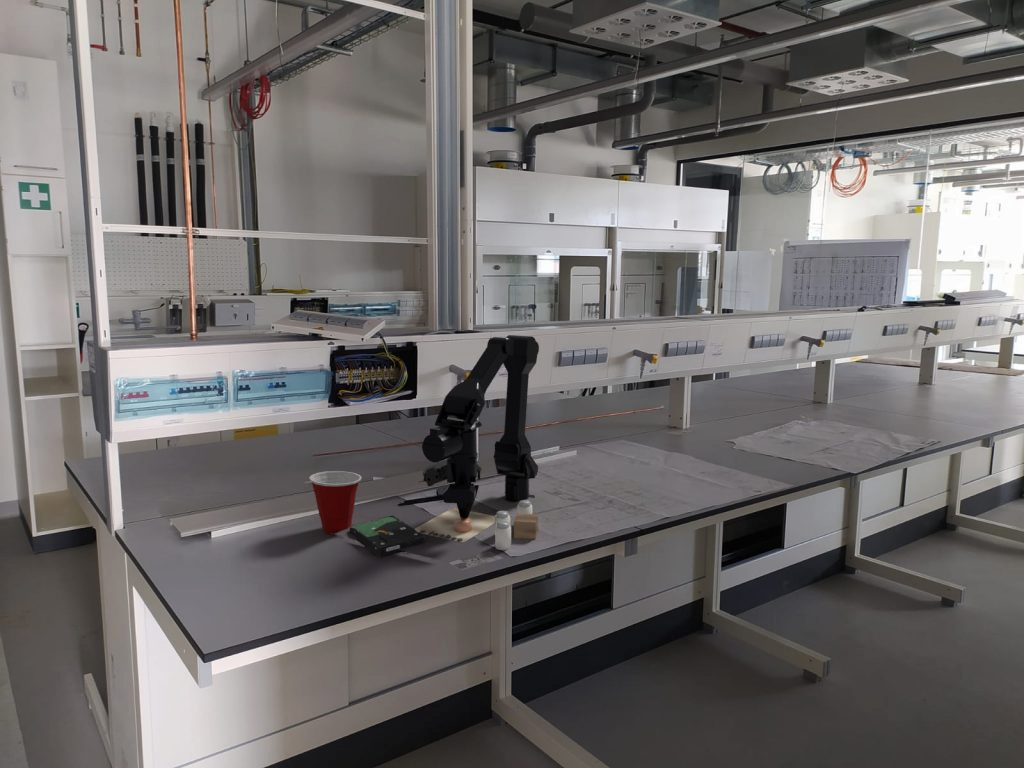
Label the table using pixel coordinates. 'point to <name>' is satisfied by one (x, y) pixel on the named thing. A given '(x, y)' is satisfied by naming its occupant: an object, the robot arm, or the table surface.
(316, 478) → the plastic cup
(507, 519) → the vial
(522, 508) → the vial
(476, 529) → the beige flat board
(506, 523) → the vial
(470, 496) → the robot arm
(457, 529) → the puck
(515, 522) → the walnut block
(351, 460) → the table surface
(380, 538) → the disk drive
